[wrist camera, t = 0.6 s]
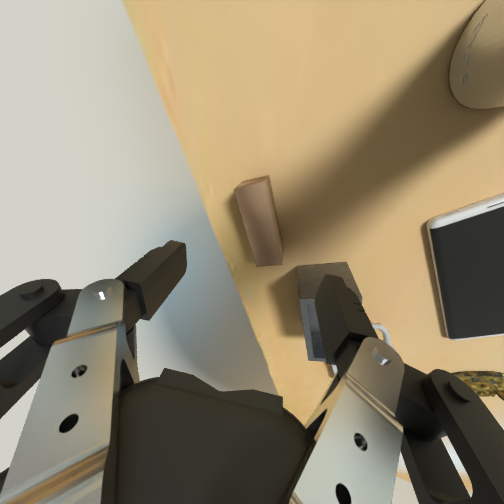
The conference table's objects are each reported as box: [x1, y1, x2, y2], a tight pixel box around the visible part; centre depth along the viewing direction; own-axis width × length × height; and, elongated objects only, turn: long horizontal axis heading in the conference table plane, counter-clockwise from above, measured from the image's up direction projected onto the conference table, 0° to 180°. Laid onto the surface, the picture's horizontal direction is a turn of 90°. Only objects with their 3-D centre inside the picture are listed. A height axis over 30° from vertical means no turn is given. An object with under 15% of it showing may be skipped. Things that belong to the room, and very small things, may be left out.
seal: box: [451, 371, 504, 400], centre depth 39 cm, size 9×5×15 cm
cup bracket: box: [298, 262, 362, 362], centre depth 32 cm, size 8×16×8 cm, turn 14°
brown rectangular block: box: [234, 175, 283, 267], centre depth 27 cm, size 4×12×5 cm, turn 15°
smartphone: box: [426, 193, 504, 341], centre depth 26 cm, size 13×27×2 cm, turn 32°
